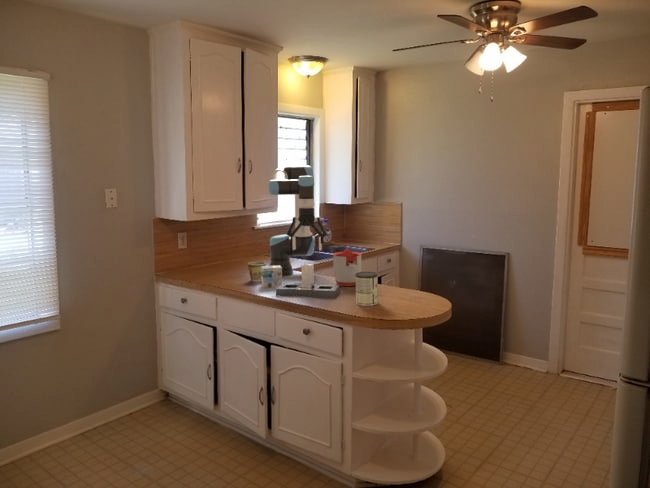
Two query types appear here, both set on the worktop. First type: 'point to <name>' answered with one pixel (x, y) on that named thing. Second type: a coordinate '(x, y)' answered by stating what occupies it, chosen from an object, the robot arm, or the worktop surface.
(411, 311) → the worktop surface
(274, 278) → the light bulb box
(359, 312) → the worktop surface
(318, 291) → the grey flat slotted block
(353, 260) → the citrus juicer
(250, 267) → the ceramic cup
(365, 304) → the coffee can
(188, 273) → the worktop surface
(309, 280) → the beige square block
